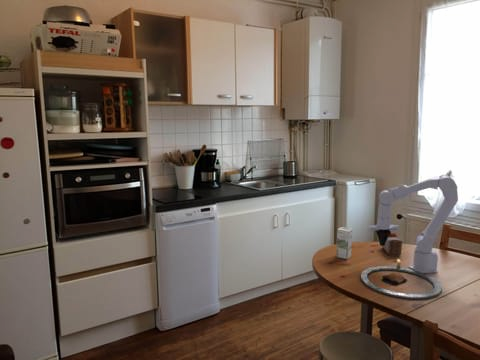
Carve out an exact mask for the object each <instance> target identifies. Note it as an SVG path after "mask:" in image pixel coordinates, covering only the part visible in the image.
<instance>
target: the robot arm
mask: <svg viewBox="0 0 480 360" xmlns="http://www.w3.org/2000/svg"><path fill="white" fill-rule="evenodd" d="M438 188H439V190H440V191H441V192H442V196H443V200H442V202H441V204H440V205H439V207H438V208H437V210H436V211H435V213H434V215H433V217H432V218H431V219H430V222H429V223H428V225H427V226H426V227H425V229H424V230H423V231H422V232H421V233H420V234H418V235H417V236H416V238H415V243H416V247H415V248H414V252H413V265H408V268H409V269H411V270H415V271H419V272H422V273H424V274H431V273H438V272H439V271H438V261H439V260H438V259H439V257H438V254H437V252H436V251H435V250H433V247H434V243H435V241H436V238H437V235H438V234H439V232H440V230H441V228H442V227H443V225H444V224H445V222H446V220H447V219H448V217H449V216H450V215H451V213H452V211H453V210H454V209H455V207H456V205H457V203H458V201H459V196H458V195H459V194H458V186H457V184H456V181H455V180H454V179H453V178H452V177H451V176H449V175H447V174H442V175H436V176H434V177H430V178H427V179H425V180H422V181H420V182H419V181H418V182H416V183H413V184H410V185H406V184H401V183H400V184H398V186H397V187H393V188H390V187H389V188H388V189H387V190H385V189H384V190H382V191H380V193H379V195H378V201H379V202H378V207H377V208H378V209H377V219H376V220H377V221H376V224H373V225H368V226H367V231H369V232H375V233H376V235H377V238H378V241H379V246H381V247H382V246H385V243H386V240H387V238H388V237H389V235H390V234H392V233H391V232H392V231H393V230H394V231H395V230H396V231H399V230H400V225H397V224H391V222H392V221H391V220H392V219H391V218H392V210H393V209H392V203H393V202H397V201H399V200H403V199H406V198H409V197H410V195H411V194H412V193H416V192H420V191H423V190H426V189H433V190H438Z"/></svg>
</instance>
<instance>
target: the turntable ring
mask: <svg viewBox="0 0 480 360" xmlns="http://www.w3.org/2000/svg"><path fill="white" fill-rule="evenodd" d="M401 263H402V262H401V258H396V265H395V266H393V265H392V266H391V265H386V266H385V265H384V266H382V265H378V266H374V267H368V268H366V269H364V270H363V271H361V273H360V280H361V281H362V283H363V284H364V285H365V286H366V287H368V288H370V289H372V290H374V291H375V292H378V293H381V294H383V295H387V296H389V297H393V298H401V299H408V300H427V299H432V298H436V297H438V296H439V295H440V294H441V293H442V291H443V288H442V284H441V283H440V282H439V281H438V280H436V279H435V278H434V277H432V276H431V275H428V274H427V273H422V272H419V271H415V270H413V269H411V268H407V267H401V265H402V264H401ZM377 271H378V272H379V271H395V272H397V271H398V272H404V273H409V274H413V275H416V276H419V277H421V278H422V279H425V280H427V281H428V282H429V283H431V284H432V286H433V289H432V290H431V291H428V292H425V293H403V292H396V291H392V290H389V289H386V288H383V287H380V286H378V285H376V284H374V283H372V281H370V280H369V278H368V275H370V274H372V273H374V272H377Z"/></svg>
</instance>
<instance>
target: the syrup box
mask: <svg viewBox="0 0 480 360" xmlns="http://www.w3.org/2000/svg"><path fill="white" fill-rule="evenodd" d="M336 235H337V237H336V258H337V259H342V260H343V259H345V260H348V259H349V258H351V256H352V241H353V228H350V227H346V226H340V227H338V228H337V234H336Z"/></svg>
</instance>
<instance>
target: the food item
mask: <svg viewBox="0 0 480 360" xmlns="http://www.w3.org/2000/svg"><path fill="white" fill-rule="evenodd" d="M402 246H403V241H401V239H400V236H398V235H397V234H396V233H394V232H393V233H391V234H390V235H389V237H388V238H387V240H386V243H385V246H381V248H382V249H383V250H384V251H385V252H386V253H387V254H388V256H391V257H400V256H401V255H402Z"/></svg>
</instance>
